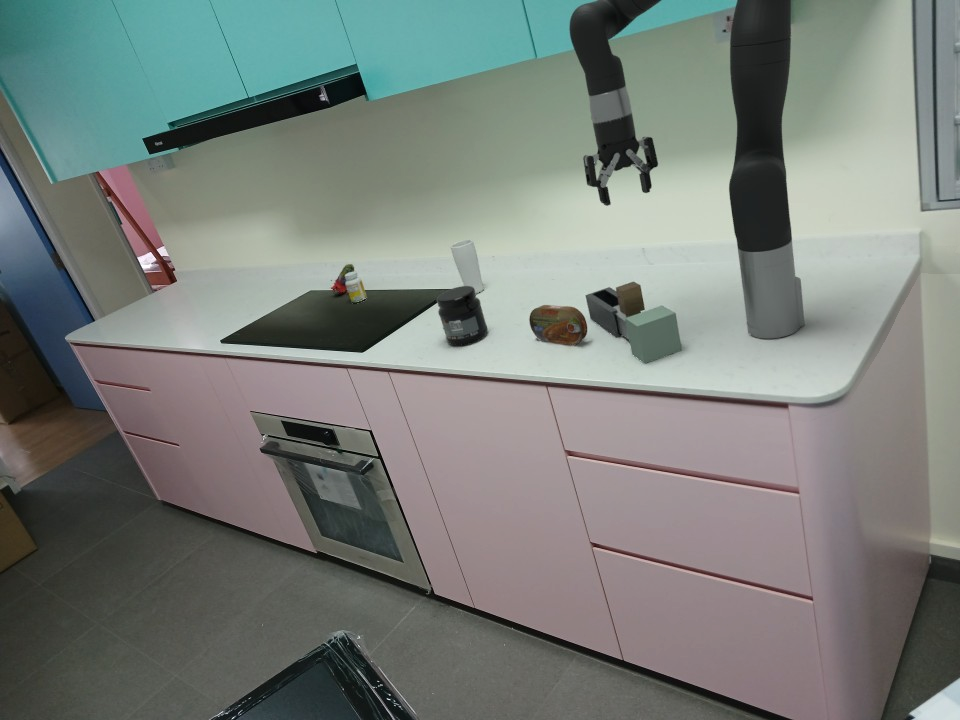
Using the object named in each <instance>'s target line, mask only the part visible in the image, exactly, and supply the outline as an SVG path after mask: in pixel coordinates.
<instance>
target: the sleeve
mask: <svg viewBox="0 0 960 720" xmlns="http://www.w3.org/2000/svg"><path fill="white" fill-rule="evenodd" d="M585 299H586V303H587V304H586V305H587V308H588V315H589V319H590V320H591V321H593V323H595V322H596V323H595V324H597V325H598V326H599V325H600V328H603V330H605V331H607V332H608V334H610V333H611V334H610V335H612V336H613V337H614V336H615V337H614V338H620V337H623V336H622V334H620V333H619V332H618V330H617V325H616V320H615V316H614V314H616V313H618V312H617V310H616V309H615V308H613V307H615V306H618V305H619V302H618V297H617V292H616V289H613V288H611V287H609V286H608V287H606V288H603V289H600V290H596V291H594V292H591V293H588V294H585Z"/></svg>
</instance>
